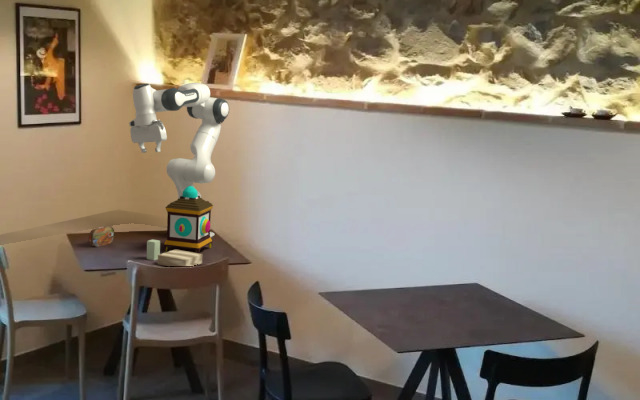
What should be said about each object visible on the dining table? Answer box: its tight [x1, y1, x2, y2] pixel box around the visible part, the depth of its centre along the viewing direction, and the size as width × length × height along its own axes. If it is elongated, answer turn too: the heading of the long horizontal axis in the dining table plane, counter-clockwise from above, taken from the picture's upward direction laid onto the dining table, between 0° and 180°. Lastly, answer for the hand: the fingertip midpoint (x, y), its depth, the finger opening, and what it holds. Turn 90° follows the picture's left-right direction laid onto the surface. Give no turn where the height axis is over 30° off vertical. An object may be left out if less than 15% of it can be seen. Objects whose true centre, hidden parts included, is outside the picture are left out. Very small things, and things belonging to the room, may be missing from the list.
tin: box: [88, 225, 116, 248], centre depth 356 cm, size 15×3×8 cm, turn 154°
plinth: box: [157, 249, 204, 267], centre depth 332 cm, size 13×14×4 cm
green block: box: [146, 239, 161, 261], centre depth 337 cm, size 4×4×8 cm
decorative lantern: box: [163, 186, 214, 254], centre depth 355 cm, size 20×20×30 cm
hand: (151, 152), depth 343 cm, fingers open, 8 cm apart
